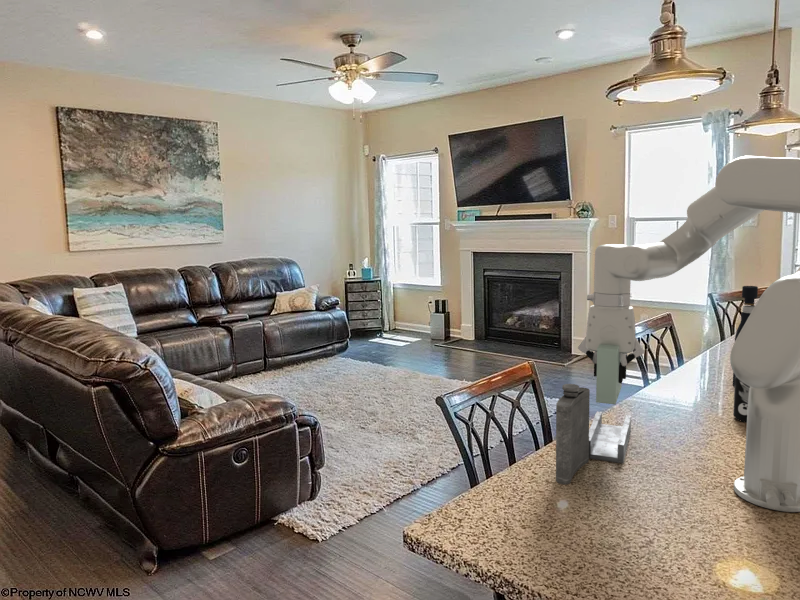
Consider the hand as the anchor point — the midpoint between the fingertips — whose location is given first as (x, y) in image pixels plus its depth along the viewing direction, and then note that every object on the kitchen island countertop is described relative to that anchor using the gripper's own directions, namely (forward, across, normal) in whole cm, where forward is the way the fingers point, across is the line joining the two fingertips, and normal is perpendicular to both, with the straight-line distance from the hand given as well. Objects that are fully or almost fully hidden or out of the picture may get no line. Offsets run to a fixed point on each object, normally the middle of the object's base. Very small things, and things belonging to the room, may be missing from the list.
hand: (609, 379), depth 130 cm
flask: (+15, -5, -17) cm, 24 cm away
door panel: (+3, 0, 0) cm, 3 cm away
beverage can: (+15, +30, +29) cm, 44 cm away
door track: (+15, 0, 0) cm, 15 cm away
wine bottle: (+15, +32, +61) cm, 71 cm away
